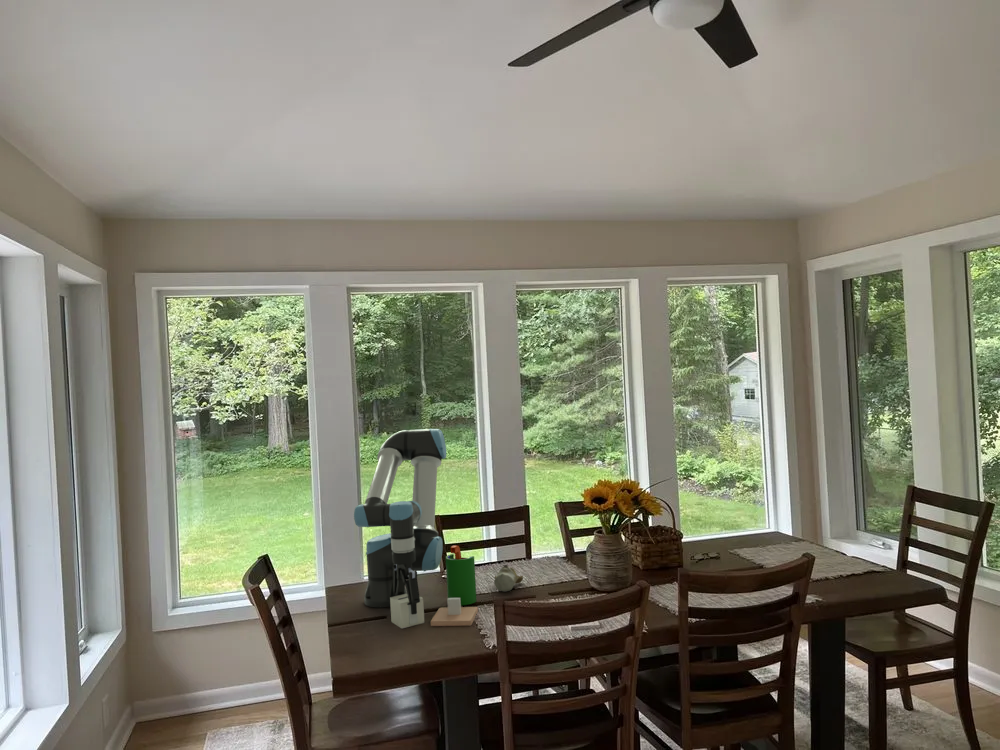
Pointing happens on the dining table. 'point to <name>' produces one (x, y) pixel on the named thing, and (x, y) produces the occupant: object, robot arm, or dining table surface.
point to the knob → (404, 611)
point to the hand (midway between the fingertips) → (407, 620)
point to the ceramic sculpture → (506, 579)
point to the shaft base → (454, 614)
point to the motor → (461, 577)
